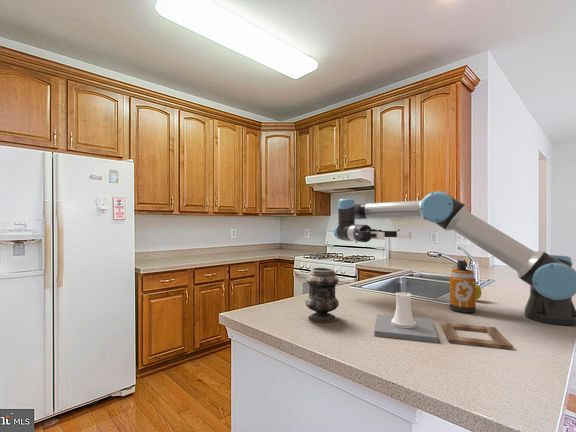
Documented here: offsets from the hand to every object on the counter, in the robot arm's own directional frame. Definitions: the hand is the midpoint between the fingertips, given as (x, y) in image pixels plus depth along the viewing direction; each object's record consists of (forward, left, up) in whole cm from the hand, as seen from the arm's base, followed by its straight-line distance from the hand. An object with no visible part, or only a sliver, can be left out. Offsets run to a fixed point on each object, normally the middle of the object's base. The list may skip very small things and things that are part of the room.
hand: (397, 235), depth 120 cm
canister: (-25, -15, -30) cm, 42 cm away
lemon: (-33, -32, -30) cm, 55 cm away
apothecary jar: (+26, +13, -30) cm, 42 cm away
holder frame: (-22, +16, -30) cm, 40 cm away
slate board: (-2, +16, -30) cm, 34 cm away
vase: (-2, +16, -29) cm, 33 cm away
